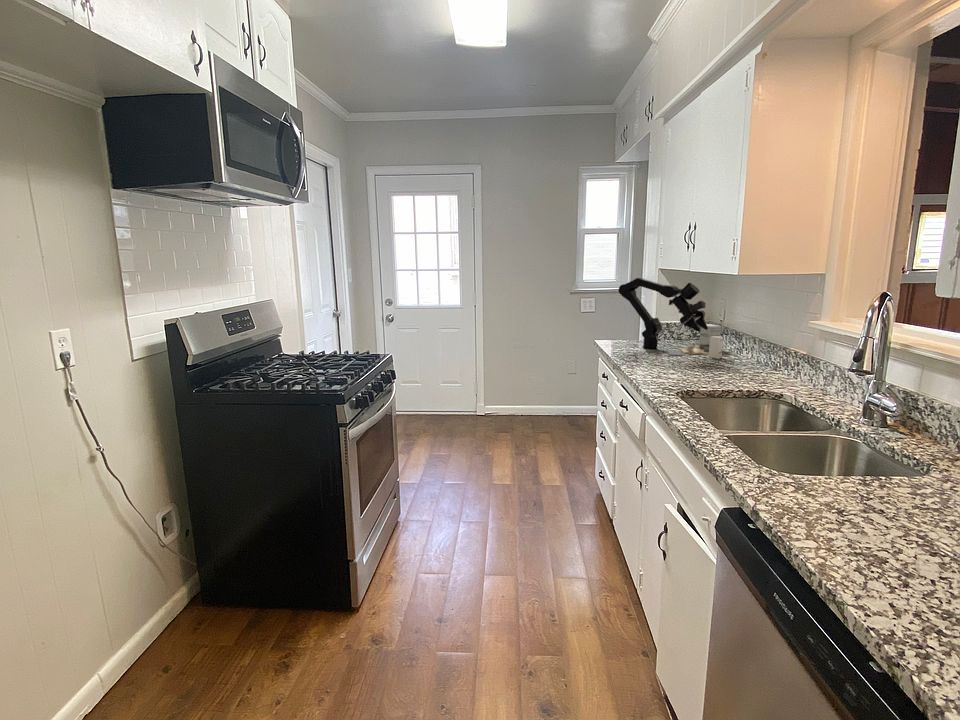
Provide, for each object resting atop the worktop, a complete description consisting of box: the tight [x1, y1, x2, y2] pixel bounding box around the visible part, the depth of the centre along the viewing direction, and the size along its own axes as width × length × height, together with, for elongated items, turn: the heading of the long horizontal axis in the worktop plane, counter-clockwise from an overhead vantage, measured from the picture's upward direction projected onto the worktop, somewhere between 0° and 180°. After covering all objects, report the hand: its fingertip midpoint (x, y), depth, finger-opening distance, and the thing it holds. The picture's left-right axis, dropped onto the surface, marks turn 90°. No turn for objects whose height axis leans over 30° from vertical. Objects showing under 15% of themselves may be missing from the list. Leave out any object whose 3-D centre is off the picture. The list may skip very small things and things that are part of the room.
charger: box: [707, 336, 724, 359], centre depth 253 cm, size 5×4×10 cm
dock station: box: [679, 343, 723, 356], centre depth 266 cm, size 19×13×4 cm
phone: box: [665, 349, 684, 357], centre depth 262 cm, size 6×12×1 cm, turn 169°
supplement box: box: [698, 323, 722, 348], centre depth 276 cm, size 7×7×13 cm
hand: (703, 330), depth 256 cm, fingers open, 9 cm apart
